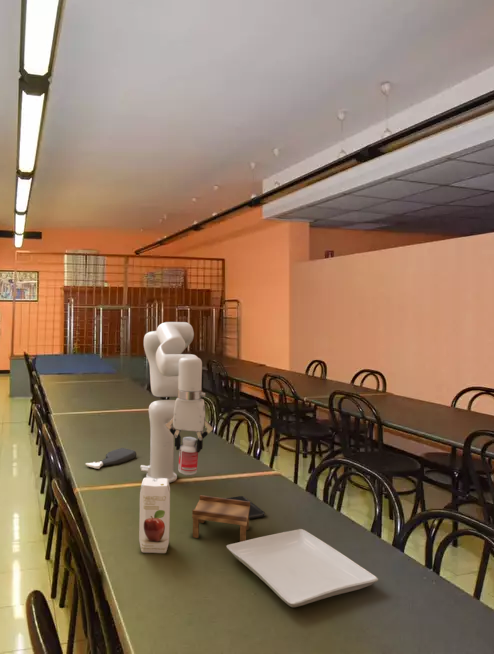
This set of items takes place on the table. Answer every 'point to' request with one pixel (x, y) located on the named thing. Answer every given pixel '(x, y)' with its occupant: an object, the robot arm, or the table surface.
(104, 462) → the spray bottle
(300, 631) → the table surface
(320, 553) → the square plate
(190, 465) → the pill bottle
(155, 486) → the juice carton
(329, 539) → the table surface
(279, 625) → the table surface
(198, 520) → the stand
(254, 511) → the phone
